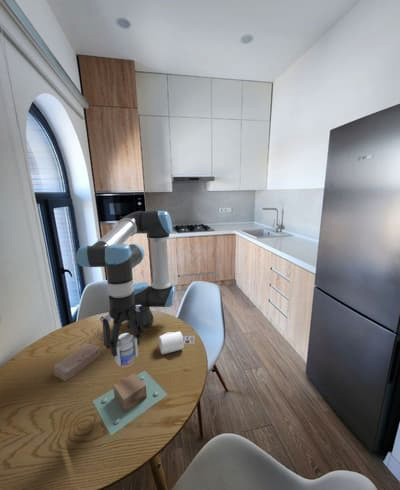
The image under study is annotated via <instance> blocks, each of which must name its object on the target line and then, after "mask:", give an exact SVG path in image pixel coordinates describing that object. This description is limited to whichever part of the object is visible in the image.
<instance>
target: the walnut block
mask: <svg viewBox="0 0 400 490" xmlns="http://www.w3.org/2000/svg"><path fill="white" fill-rule="evenodd" d="M137 375H138V374H137V373H135V372H134V373H132V374H129V376H127V377H125V378H123V379H122V380H120V381H118V382H116V383H115V384H113V389H114V396H115V399H116V400H117V402H118V404H119V405H120V407H121V408H122V410H123V411H124V413H125V412H127V411H128V410H130V409H131V408H133V407H134V406H136V405H137V404H139V403H140V402H141V401H143V400H144V399H146V398H147V394H146V385H145V384H144V383H143V381H142V380H141V379H140V378H139V377H138V376H137Z"/></svg>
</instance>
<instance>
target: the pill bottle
mask: <svg viewBox="0 0 400 490" xmlns="http://www.w3.org/2000/svg"><path fill="white" fill-rule="evenodd" d="M131 336H132V334H131V333H129V332H124V333H120V334H119V336H118V342H117V345H118V346H119V349H120V360H121V365H119V366H118V367H121V368H128V367H130V366H132V365H133V364H134V363H135V362H134V361H135V355H134V344H133V340H132V339H131Z"/></svg>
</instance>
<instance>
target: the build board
mask: <svg viewBox="0 0 400 490" xmlns="http://www.w3.org/2000/svg"><path fill="white" fill-rule="evenodd" d="M136 375H137V376H138V377H139V378H140V379H141V380H142V381H143V383H144V384H145V385H146V394H147V398H146V399H144V400H143V401H141V402H140V403H139V404H137V405H136V406H134V407H133V408H131V409H130V410H128V411H127V412H125V413H124V411H123V410H122V408H121V407H120V405H119V404H118V402H117V400H116V399H115V396H114V388H113V389H111V390H109V391H107V392H106V393H104V394H102V395H100V396H99V397H97V398H96V399H93V400H92V403H93V404H94V406H95V408H96V410H97V412H98V413H99V416H100V418H101V420H102V422H103V424H104V426H105V428H106V430H107V431H108V433H109V435H110V437H111V436H113V435H114V434H115V433H117V432H119V431H120V430H122V429H123V428H124V427H126V426H127V425H128V424H130V423H131V422H132V421H134V420H135V419H137V418H138V417H140V416H141V415H142V414H143V413H145V412H146V411H147V410H149V409H150V408H151V407H153V406H154V405H156V404H157V403H158V402H160V401H161V400H162V399H164V398H165V397H166V396H168V393H167V392H166V390H164V389H163V388H162V387H161V386H160V385H159V384H158V382H156V380H155V379H154V378H153V377H152V376H151V375H150V374H149V373H148V372H147V371H146V370H143V371H141V372H139V373H138V374H136Z"/></svg>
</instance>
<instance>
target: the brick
mask: <svg viewBox="0 0 400 490" xmlns="http://www.w3.org/2000/svg"><path fill="white" fill-rule="evenodd" d="M100 355H101V350H100V347H99V346H97V345H94V344H90V343H86V344H84V345H82V346H81V347H79V348H78V349H76V351H74V352H73V353H71V354H70V355H67V356H66V357H65V358H63V359H62V360H60V361H59V362H57V363H56V364H55V365H54V366H53V374H54V376H55V377H56V378H59V379H61V380H62V381H68V380H70V379H71V378H72V377H73V376H75V375H76V374H78V373H79V372H81V371H82V370H83V369H85V368H86V367H87V366H88V365H90V364H91V363H92V362H93V361H95V360H96V359H97V358H99V357H100Z"/></svg>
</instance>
